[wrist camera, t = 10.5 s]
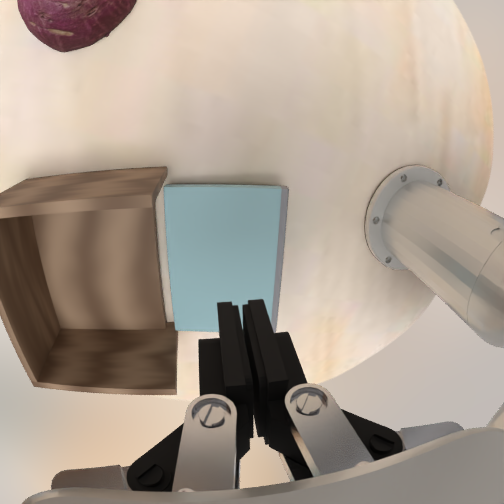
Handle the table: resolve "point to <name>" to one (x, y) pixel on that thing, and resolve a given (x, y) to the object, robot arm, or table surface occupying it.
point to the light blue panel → (223, 249)
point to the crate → (87, 282)
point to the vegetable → (72, 20)
